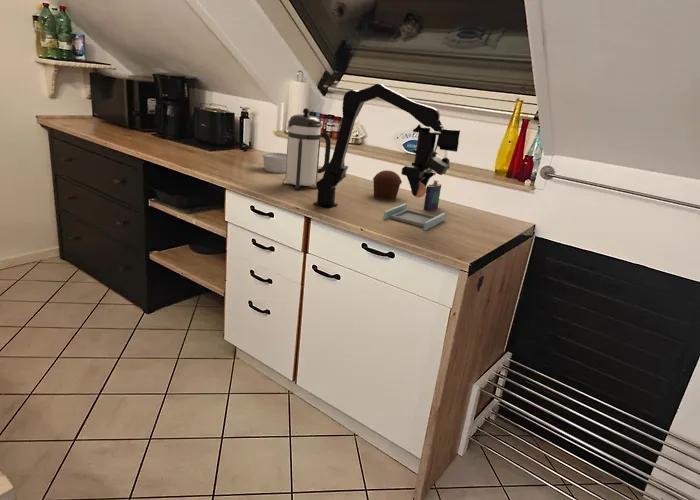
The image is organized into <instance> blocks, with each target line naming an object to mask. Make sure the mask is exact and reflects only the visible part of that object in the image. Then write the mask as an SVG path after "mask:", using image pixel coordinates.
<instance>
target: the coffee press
mask: <svg viewBox="0 0 700 500" xmlns="http://www.w3.org/2000/svg"><path fill="white" fill-rule="evenodd" d="M302 113H303V114H294V115H291V117H290V118H289V120H288V121H287V122H288V125H287V127H286V130H287V145H286V146H287V149H286V154H287V162H286V173H285V178H284V179H283V180H282V185H286V184H287V183H289V184H291V185H294V186H295V187H294V190H296V191H299V190H300V187H301V186H302V187H304V186H308V187H309V186H313V187H314V188H315V189H316V190H318V189H317V186H316V183H317V182H318V174H323V173H324V172H325V170H326V168H327V166H328V164H329V163H330V160H331V157H330V156H331V147H332V146H331V144H332V143H331V138H330V136H329V135H328V134H327V133H325V132H321V130H322V127H323V123H322V122H321V120H320V118H318V117H317V116H314V115H310V114H309V113H310V110H309V108H307V107H305V108H303V110H302ZM321 138H323V139H324V141H325V149H324V150H325V152H324V163H323V165H322V166H321V168H319V163H320V162H319V161H320V160H319V159H320V151H321V150H320V148H321ZM285 180H286V181H287V182H284V181H285Z"/></svg>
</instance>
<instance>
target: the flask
mask: <svg viewBox="0 0 700 500" xmlns="http://www.w3.org/2000/svg"><path fill="white" fill-rule="evenodd" d="M441 189H442V184H441V183H439V181H438V180H435V179H433V182H432V183H431V184H427V185H426V193H425V195H424V196H425V197H424V203H423V211H426V212H427V211H434V210H435V209H437V208H438V207H439V202H440V194H441Z"/></svg>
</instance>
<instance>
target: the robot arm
mask: <svg viewBox="0 0 700 500" xmlns="http://www.w3.org/2000/svg"><path fill="white" fill-rule="evenodd" d="M342 98H343V99H342V119H341V123H340V127H339V130H338V135H337V139H336V142H335V145H334V146H335V147H334V150H333V154H332V157H331V158H330V160H329V164H328V166H327V168H326V170H325V171H324V172H323V174H322V175H323V176H322V178H321V179H319V180H317V182H316V183H315V186H316V187H317V189H316V190H317V196H316V197H317V198H316V201H313V202H312V204H313V205H316V206H319V207H322V208H326V209H329V208H332V207H336V206H338V203H336V202H335V200H336V189H337V188H336V187H337V186H338V184H339V183H341V182H342V181H343V180H344V179H345V178H346V176H347V174H346V173H347V170H348V168H349V165H346V164H345V159H346V155H347V151H348V147H349V144H350V140H351V136H352V133H353V130H354V126H355V123H356V119H357V118H358V116H359V114H360V113H361V110H362V108H363V106H364V104H365V103H366V102H368V101H371V100H373V99H376V98H378V99H381V100H383V101H385V102H386V103H388V104H390V105H392V106H394V107H396V108H398V109H400V110H402V111H404V112H407V113H408V114H409V115H411V116H412V117H413V118H415V120H416V121H418V122H419V123H420V124H418V125H417V126H416V127H414V128H413V129H412V132H413V133H418V134H417V135H418V136H417V143H416V146H415V147H416V148H415V149H413V154H414V155H415V156H414V161H412V162H411V164H408V165H404V166H403V167H402V168H401V175H402V176H405V177H407V180H408V184H409V187H410V190H412V192H411V194H412V193H413V194H412V196H413V197H415V196H416V195H417V192H418V189H419V186H420V183H423V184H424V185H425V186H426V187H427V186H428V183H429V181H430V179H431V178H432V177H434V176H436V174H437V175H440V176H442V175H445V174H446V172H447V170H449V169H450V165H451V163H450V159H449V158H448V157H443V158H441V157H440V158H439V157H437V151H435V146H436V147H438V148H439V150H440V151H446V152H453V153H454V152H456V153H458V149H459V143H460V133H461V130H460V129H448V128H444V124H442V122H441V120H440V117H441V114H440V111H439V110H438V109H437V108H436V107H435V106H434V107H433V106H430V105H427V104H423V103H420V102H416V101H414V100H412V99H410V98H408V97H406V96H404V95H402V94H400V93H398V92H396V91H395V90H393V89H391V88H388V87H387V86H385V84H382V83H375V84H374V85H372V86H368V87H366V88H363V89H361V90H358V89H353V90H348V91H347V92H345V94H344V96H343V97H342ZM421 125H423V127H422V126H421ZM431 129H432V130H433V131H432V130H431ZM436 139H437V140H436Z"/></svg>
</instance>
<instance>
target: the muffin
mask: <svg viewBox="0 0 700 500" xmlns="http://www.w3.org/2000/svg"><path fill="white" fill-rule="evenodd" d="M372 181H373V196H374V197H376V198H378V199H381V200H396V198H397V196H398V192H399V190H400V186H401V184H402V180H401V177H400V175H399V174H398V173H397V172H395V171H392V170H388V169H387V170H382V171H379V172H378V173H376V174H375V176H374V177H373V178H372Z"/></svg>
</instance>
